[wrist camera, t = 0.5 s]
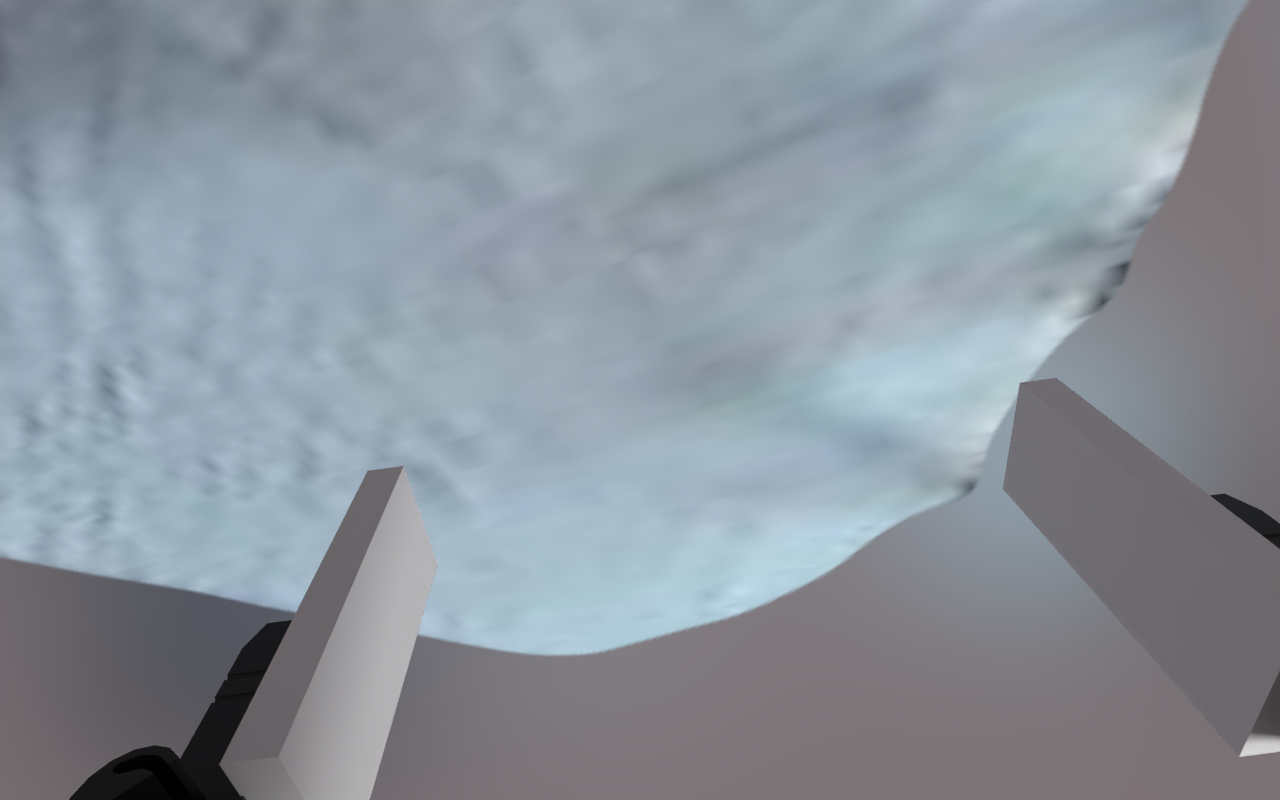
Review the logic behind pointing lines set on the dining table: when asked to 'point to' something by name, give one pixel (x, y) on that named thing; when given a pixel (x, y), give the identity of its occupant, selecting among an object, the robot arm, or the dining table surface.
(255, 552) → the dining table surface
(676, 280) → the dining table surface
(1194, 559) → the robot arm
